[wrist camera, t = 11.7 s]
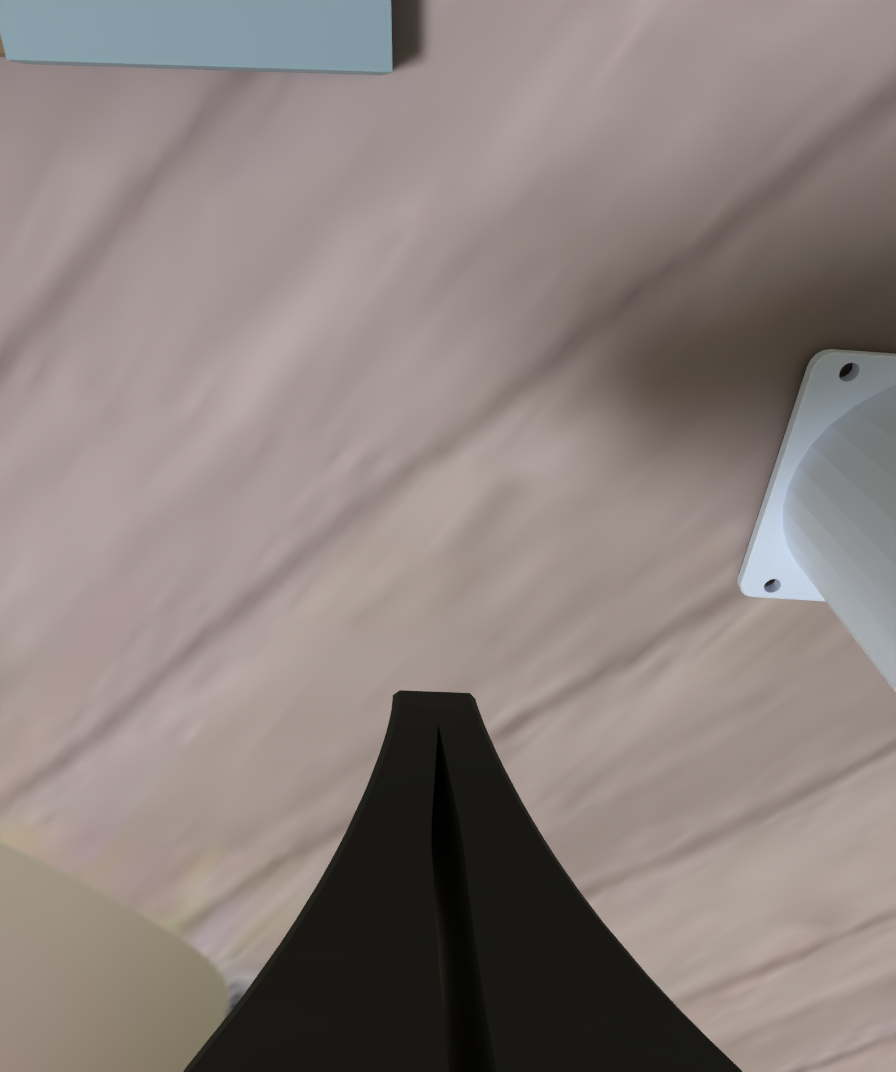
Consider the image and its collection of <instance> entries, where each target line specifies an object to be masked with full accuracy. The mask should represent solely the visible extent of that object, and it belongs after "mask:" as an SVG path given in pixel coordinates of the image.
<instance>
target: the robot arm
mask: <svg viewBox="0 0 896 1072" xmlns="http://www.w3.org/2000/svg"><path fill="white" fill-rule="evenodd" d="M847 363H852V369H851V371H850V373H849V374H847V375H846V376H844V377H839V372H840V370H841V368H842V367H843V366H844V365H846V364H847ZM771 579H776V580H775V582H774V583H772V584H771V585H767V586H764V585H765V583H766V582H767V581H769V580H771ZM737 583H738V585H739V587H740V589H741V591H742V592H743V593H744V594H745V595H747V596H751V597H763V598H779V599H796V600H812V601H826V602H827V603H828V604H829V606H830V607H831V608H832V610H833V611H834V612H835V614H836V615H837V616H838V618H839V619H840V620H841V621H842V623H843V624H844V625H845V627H846V628H847V629H848V631H849V632H850V633H851V635H852V636H853V637H854V639H855V640H856V641H857V642H858V644H859V645H860V646H861V648H862V649H863V650H864V652H865V653H866V654H867V656H868V657H869V658H870V659H871V661H872V662H873V663H874V665H875V666H876V667H877V669H878V670H879V671H880V673H881V674H882V675H883V676H884V678H885V679H886V680H887V682H888V683H889V684H890V686H891V687H892V688H893V690H894V691H895V692H896V353H881V352H867V351H853V350H838V349H828V350H823V351H821V352H819V353H817V354H816V355H815V356H814V357H813V358H812V359H811V360H810V362H809V364H808V366H807V369H806V372H805V375H804V378H803V381H802V384H801V387H800V390H799V393H798V396H797V399H796V402H795V405H794V408H793V411H792V414H791V417H790V420H789V423H788V426H787V430H786V433H785V436H784V439H783V442H782V445H781V448H780V451H779V454H778V457H777V460H776V463H775V466H774V469H773V472H772V475H771V478H770V481H769V484H768V487H767V491H766V494H765V497H764V500H763V503H762V506H761V509H760V512H759V515H758V518H757V521H756V524H755V527H754V530H753V533H752V536H751V539H750V542H749V545H748V548H747V552H746V555H745V558H744V561H743V564H742V567H741V570H740V573H739V576H738V582H737ZM184 1072H742V1071H741V1070H740V1069H739V1068H738V1067H737V1066H736V1065H735V1064H734V1063H733V1062H732V1061H731V1060H730V1059H729V1058H728V1057H727V1056H726V1055H725V1054H724V1053H723V1052H722V1051H721V1050H720V1049H719V1048H718V1047H716V1046H715V1045H714V1044H713V1043H712V1042H711V1041H710V1040H709V1039H708V1038H707V1037H706V1036H705V1035H704V1034H703V1033H702V1032H701V1031H700V1030H699V1029H698V1028H697V1027H696V1026H695V1025H694V1024H693V1023H692V1022H691V1021H690V1020H689V1019H688V1018H687V1017H686V1016H685V1015H684V1014H683V1013H682V1012H681V1011H680V1009H679V1008H678V1007H677V1006H676V1005H675V1004H674V1003H673V1002H672V1001H671V1000H670V999H669V998H668V997H667V995H666V994H665V993H664V992H663V991H662V990H661V989H660V988H659V987H658V986H657V985H656V984H655V983H654V981H653V980H652V979H651V978H650V977H649V976H648V975H647V974H646V973H645V971H644V970H643V969H642V968H641V967H640V966H639V964H638V963H637V962H636V961H635V960H634V958H633V957H632V956H631V955H630V954H629V952H628V951H627V950H626V949H625V948H624V947H623V945H622V944H621V943H620V942H619V941H618V939H617V938H616V937H615V936H614V935H613V934H612V932H611V931H610V930H609V929H608V928H607V926H606V925H605V924H604V923H603V922H602V920H601V919H600V918H599V916H598V915H597V914H596V912H595V911H594V910H593V909H592V907H591V906H590V905H589V903H588V902H587V901H586V899H585V898H584V897H583V895H582V894H581V893H580V891H579V890H578V889H577V887H576V886H575V884H574V883H573V881H572V880H571V879H570V877H569V876H568V874H567V873H566V872H565V870H564V869H563V867H562V866H561V864H560V863H559V861H558V860H557V858H556V857H555V855H554V854H553V852H552V851H551V849H550V848H549V846H548V845H547V843H546V841H545V840H544V838H543V837H542V835H541V833H540V832H539V830H538V828H537V827H536V825H535V823H534V822H533V820H532V818H531V817H530V815H529V813H528V812H527V810H526V808H525V806H524V805H523V803H522V801H521V799H520V797H519V795H518V794H517V792H516V790H515V788H514V786H513V784H512V782H511V780H510V778H509V777H508V775H507V773H506V771H505V769H504V767H503V765H502V763H501V761H500V759H499V757H498V755H497V752H496V750H495V748H494V746H493V744H492V741H491V739H490V737H489V735H488V732H487V730H486V728H485V725H484V723H483V720H482V718H481V715H480V712H479V709H478V707H477V703H476V700H475V698H474V697H473V696H472V695H471V694H470V693H450V692H425V691H399V692H397V693H396V694H394V695H393V702H392V710H391V715H390V720H389V724H388V728H387V732H386V735H385V738H384V742H383V745H382V748H381V751H380V754H379V757H378V759H377V762H376V764H375V767H374V770H373V772H372V775H371V778H370V780H369V783H368V785H367V788H366V790H365V792H364V795H363V797H362V799H361V801H360V803H359V805H358V808H357V810H356V812H355V814H354V816H353V818H352V821H351V823H350V825H349V827H348V829H347V831H346V833H345V835H344V837H343V839H342V841H341V843H340V845H339V847H338V849H337V851H336V852H335V854H334V856H333V858H332V860H331V862H330V864H329V865H328V867H327V869H326V871H325V872H324V874H323V876H322V878H321V879H320V881H319V883H318V885H317V886H316V888H315V890H314V891H313V893H312V895H311V896H310V898H309V899H308V901H307V903H306V904H305V906H304V908H303V909H302V911H301V912H300V914H299V916H298V917H297V919H296V921H295V922H294V924H293V925H292V927H291V928H290V930H289V931H288V933H287V934H286V936H285V937H284V939H283V940H282V942H281V943H280V945H279V946H278V948H277V949H276V950H275V952H274V953H273V955H272V956H271V957H270V959H269V960H268V962H267V963H266V964H265V966H264V967H263V969H262V970H261V971H260V973H259V974H258V976H257V977H256V978H255V980H254V981H253V983H252V984H251V986H250V987H249V988H248V990H247V991H246V993H245V994H244V995H243V997H242V998H241V999H240V1001H239V1002H238V1003H237V1004H236V1006H235V1007H234V1008H233V1010H232V1011H231V1012H230V1014H229V1015H228V1016H227V1017H226V1018H225V1020H224V1021H223V1022H222V1023H221V1025H220V1026H219V1027H218V1029H217V1030H216V1031H215V1032H214V1033H213V1035H212V1036H211V1037H210V1038H209V1040H208V1041H207V1042H206V1043H205V1045H204V1046H203V1047H202V1048H201V1050H200V1051H199V1052H198V1053H197V1055H196V1056H195V1057H194V1058H193V1060H192V1061H191V1062H190V1063H189V1065H188V1066H187V1067H186V1069H185V1070H184Z"/></svg>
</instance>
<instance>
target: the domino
mask: <svg viewBox="0 0 896 1072" xmlns="http://www.w3.org/2000/svg"><path fill="white" fill-rule="evenodd" d="M0 35H1V39H2V43H3V47H4V51H5V55H6V59H7V60H10V61H15V62H19V63H23V64H42V65H74V66H106V67H138V68H170V69H202V70H234V71H266V72H297V73H329V74H361V75H384V74H388V73H391V72H392V22H391V0H0Z"/></svg>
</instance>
